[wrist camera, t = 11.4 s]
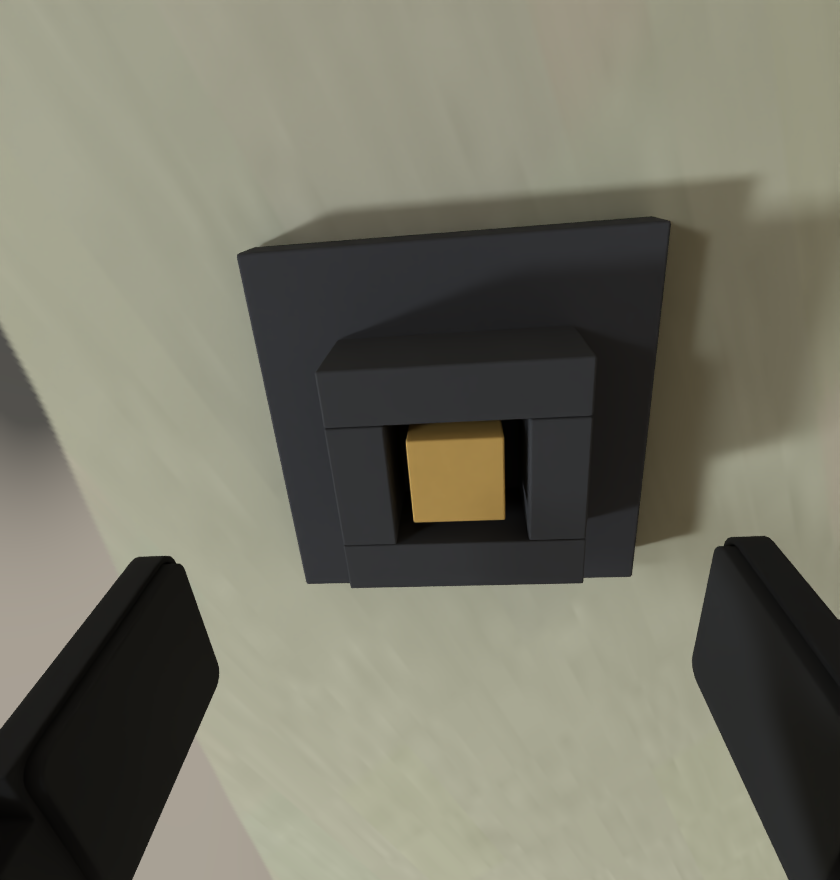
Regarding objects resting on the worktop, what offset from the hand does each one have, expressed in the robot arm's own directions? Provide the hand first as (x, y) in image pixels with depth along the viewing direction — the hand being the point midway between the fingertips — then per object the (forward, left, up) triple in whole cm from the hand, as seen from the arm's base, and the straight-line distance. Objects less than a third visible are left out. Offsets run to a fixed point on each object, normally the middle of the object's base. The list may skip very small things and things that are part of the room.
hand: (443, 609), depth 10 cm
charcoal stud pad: (+1, 0, -10) cm, 10 cm away
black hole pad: (+1, 0, -9) cm, 9 cm away
